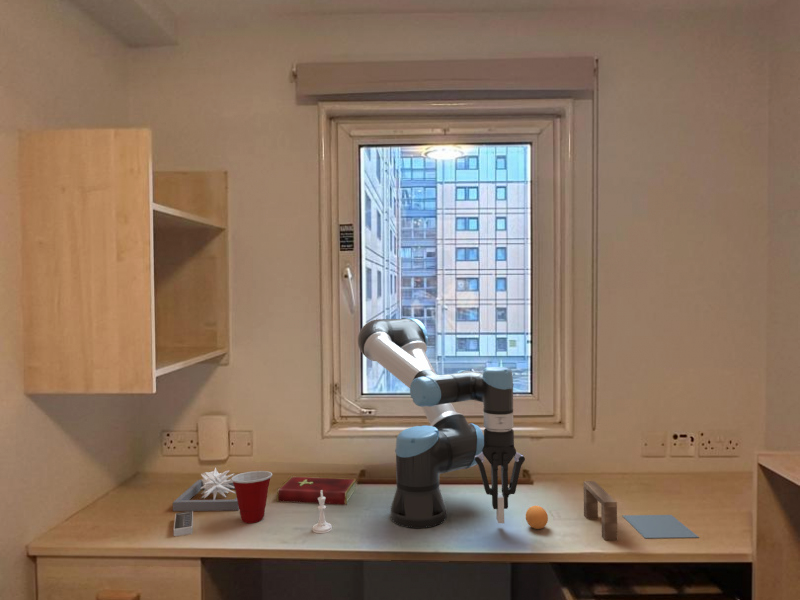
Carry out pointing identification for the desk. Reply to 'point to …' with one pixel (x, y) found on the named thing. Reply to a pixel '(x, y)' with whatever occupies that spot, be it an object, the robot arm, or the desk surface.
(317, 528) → the chess piece
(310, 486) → the hardcover book
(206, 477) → the spiky ball
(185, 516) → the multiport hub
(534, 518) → the ball
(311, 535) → the desk surface
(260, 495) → the plastic cup
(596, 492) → the bridge
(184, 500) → the ball rest frame
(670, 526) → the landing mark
